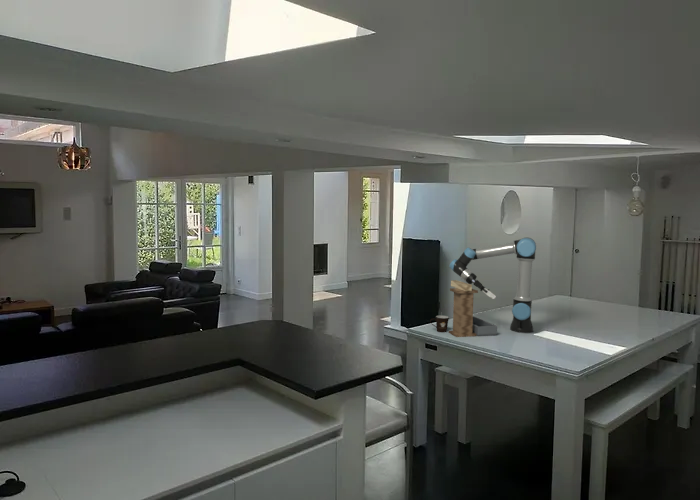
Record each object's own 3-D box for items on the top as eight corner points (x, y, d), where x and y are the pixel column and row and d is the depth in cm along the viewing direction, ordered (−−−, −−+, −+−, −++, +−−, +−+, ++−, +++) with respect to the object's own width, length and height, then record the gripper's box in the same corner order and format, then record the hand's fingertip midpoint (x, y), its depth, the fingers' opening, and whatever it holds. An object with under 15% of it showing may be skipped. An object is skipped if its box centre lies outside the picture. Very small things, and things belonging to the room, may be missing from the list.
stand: (467, 331, 359) (469, 287, 357) (476, 336, 347) (477, 290, 345) (448, 332, 355) (449, 288, 353) (456, 337, 344) (458, 291, 341)
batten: (456, 286, 364) (456, 280, 364) (471, 291, 343) (471, 284, 342) (450, 286, 363) (451, 280, 363) (465, 291, 342) (466, 285, 341)
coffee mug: (449, 331, 361) (450, 316, 360) (446, 333, 353) (446, 318, 353) (432, 328, 366) (433, 314, 365) (429, 331, 358) (429, 316, 357)
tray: (473, 324, 382) (473, 316, 382) (497, 335, 351) (497, 326, 351) (455, 325, 378) (456, 317, 378) (477, 336, 348) (478, 327, 347)
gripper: (469, 283, 375) (492, 303, 366) (461, 278, 353) (485, 299, 344) (476, 275, 374) (500, 294, 365) (468, 269, 352) (493, 290, 343)
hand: (493, 297), depth 354 cm, fingers open, 13 cm apart
